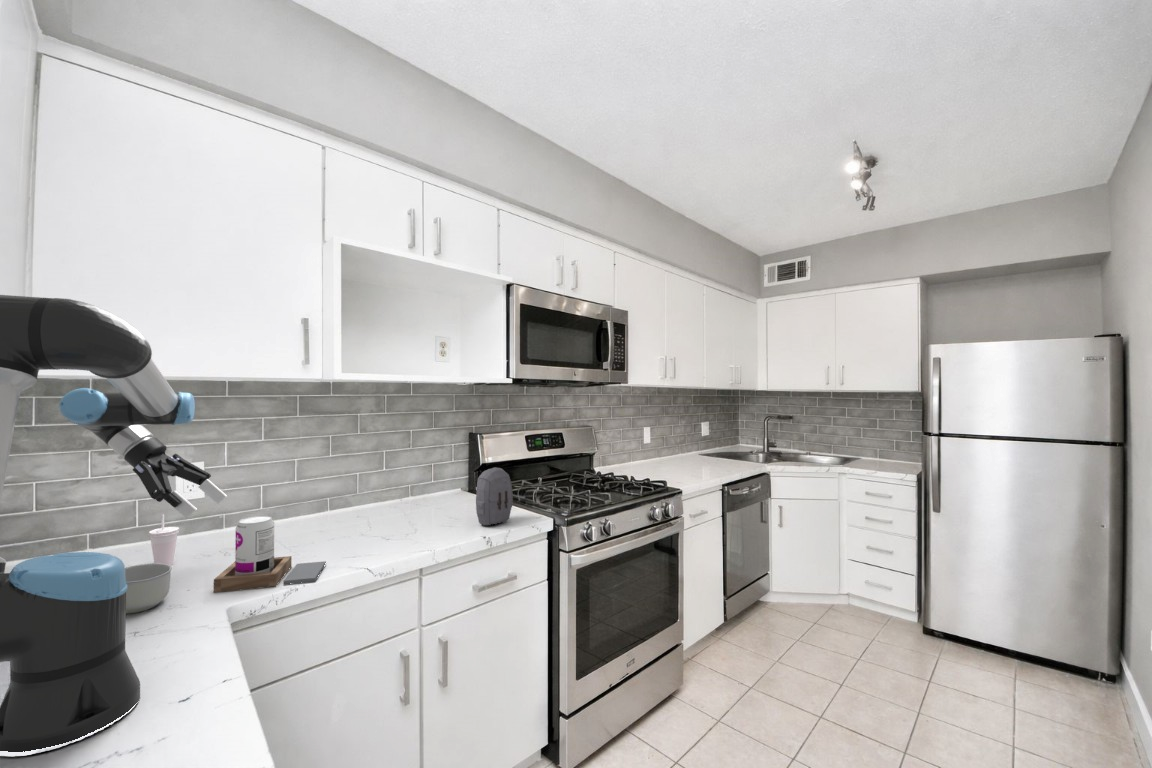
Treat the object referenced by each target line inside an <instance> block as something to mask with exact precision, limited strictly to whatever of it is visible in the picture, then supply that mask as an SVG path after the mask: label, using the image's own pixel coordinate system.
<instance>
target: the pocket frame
mask: <svg viewBox="0 0 1152 768" xmlns="http://www.w3.org/2000/svg"><path fill="white" fill-rule="evenodd" d="M290 567H291V568H292V556H291V555H289V556H280V557H279V556H278V557H277V556H276V557H275V556H274V570H273V571H272V572H270V573H258V574H247V575H236V576H235V561H234V562H233V563H231V564H230V565H229V566H228V567H226V568H225V569H224V570H223V571H222V572H221V573H219V575H217V576H216V577H215V578H213V593H221V592H233V591H241V590H240V589H244V590H251V589H250V588H254V589H259V588H258V587H264V588H268V587H267V586H275V587H277V586H278V584H279V583H280V582H281V581H282V580H281V578H282V577H283V576H284V574H285V573H286V572H287V571H288V570H289V568H290ZM289 571H290V570H289ZM289 571H288V572H289ZM288 572H287V573H288ZM287 573H286V574H287ZM284 577H285V576H284ZM284 577H283V578H284ZM283 578H282V579H283ZM280 580H281V581H280ZM279 581H280V582H279ZM278 582H279V583H278ZM277 583H278V584H277ZM276 585H277V586H276Z"/></svg>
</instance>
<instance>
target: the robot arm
mask: <svg viewBox="0 0 1152 768" xmlns="http://www.w3.org/2000/svg"><path fill="white" fill-rule="evenodd" d="M152 353H153V351H152V347H151V345H150V343H149V342H148V340H147V339H146V337H145V336H144V335H143V334H142V333H141V332H140V331H139V330H138V329H137V328H136V327H134V326H133V325H132V324H130V323H129V322H128V321H126V320H124V319H122V318H121V317H120V316H117V315H115V314H114V313H112V312H110V311H108V310H106V309H103V308H101V307H99V306H96V305H94V304H91V303H87V302H84V301H80V300H76V299H71V298H60V297H39V296H25V295H24V296H23V295H22V296H21V295H8V294H7V295H6V294H0V506H1V505H2V504H1V503H2V499H3V493H4V488H5V487H4V486H5V481H6V476H7V475H6V474H7V470H8V466H9V465H8V464H9V460H10V459H9V458H10V454H11V447H12V441H13V437H14V431H15V424H16V419H17V414H18V407H19V402H20V396H21V393H22V392H23V391H26V390H28V389H30V388H31V387H33V386H35V385H36V384H37V380H38V376H39V372H40V370H46V371H47V370H57V371H58V370H69V371H72V370H73V371H75V370H77V371H87V372H88V371H89V372H90V373H91V374H93V375H95V376H97V377H100V378H102V379H103V378H104V379H106V380H107V381H108V382H109V383H110V384H111V385H112V386H113V387H114V388H115V389H116V391H118V392H101V391H99V390H96V389H93V388H88V387H81V388H76V389H73V390H70V391H69V392H66V394H64V395H63V397H61V399H60V401H59V405H58V406H59V407H58V408H59V412H60V413H61V415H62V416H63V417H65V418H66V419H67V420H68V421H69V422H70V423H72V424H74V425H78V426H80V427H82V428H84V429H85V430H87V431H89V432H91V433H92V434H93V435H95V436H96V437H97V438H99V439H100V440H101V441H103V442H104V443H105V444H106V445H107V446H108V447H110V449H112V450H113V452H114V453H115V454H118V455H119V456H120V457H123V458H124V459H123V460H124V461H126V462H127V463H128V464H129V465H130V466H131V467H133V468H132V471H133V472H134V473H135V474H136V475H137V476H138V477H139V479H140V481H141V482H142V484H143V486H144V488H145V489H146V491H147V493H148V494H149V496H150V498H151V499H153V500H155V501H157V502H158V503H160V502H162V501H163V500H164V501H165V502H167V504H168V505H170V506H171V507H173V509H175V510H176V511H177V512H178V513H179V514H180V515H182V516H183V517H184V518H185V519H189V518H190V517H191V516H192V515H194V513H195V512H196V511H197V510H198V508H197V507H196V506H195V505H194V504H192V503H191V502H190V501H189V500H188V499H186V497H184V496H183V495H182V494H181V493H180V492H178V491H177V489H176V490H173V489H172V486H171V483H170V479H169V477H177V478H181V479H183V480H185V481H187V482H190V483H193V484H196V485H198V489H199V490H201V491H202V492H203V493H204V494H205V495H206V496H208V497H209V498H210V499H211V500H213V502H215V503H216V504H217V505H219V504H220V503H221V502H222V501H224V500H225V499H226V498H227V497H228V495H227V494H226V493H225V492H223V491H222V490H221V489H220V488H219V487H218V486H217V485H216V484H214V483H213V481H211V480H210V478H211V477H212V475H211V473H209V472H207V471H205V470H204V469H202V468H200V467H199V466H196V465H195V464H193V463H191V462H189V461H188V460H186V459H184V458H182V456H180V455H179V454H177V453H174V454H172V456H169V455H168V454H166V451H167V449H168V447H167V446H166V445H165V444H164V443H163V442H162V441H161V440H160V439H158V437H154V434H153V433H152V432H150V430H148V429H147V428H146V427H145V426H155V425H156V426H158V425H159V426H160V425H162V426H165V425H172V426H175V425H182V424H183V425H184V424H189V423H191V422H193V420H194V417H195V413H196V408H195V407H196V401H195V397H194V395H193V394H192V393H191V392H182V391H177V392H176V391H174V389H173V388H172V386H171V385H170V384H169V382H168V380H167V379H166V378H165V376H164V375H163V374H162V372H161V370H160V369H159V368H158V366H157V365H156V363H155V362H154V360H153V359H152V356H153V354H152ZM6 565H7V560H6V559H5V558H3V557H2V556H0V663H4V662H9V668H10V670H9V671H10V672H9V675H10V676H9V684H8V688H7V689H6V692H5V694H4V697H3V699H2V701H1V704H0V751H8V752H23V751H24V752H25V751H31V750H36V749H42V748H46V747H51V746H55V745H59V744H63V743H66V742H69V741H72V740H75V739H78V738H80V737H82V736H85V735H87V734H88V733H91V732H94V731H95V730H97V729H100V728H102V727H104V726H106V725H107V724H109V723H111V722H113V721H114V720H116V719H117V718H119V717H121V716H122V715H124V714H125V713H126V712H128V711H129V710H130V709H131V708H132V707H133V706H134V705H135V704H136V703H137V702H138V701H139V702H140V700H139V699H141V681H140V678H139V677H138V674H137V673H136V671H135V669H134V666H133V663H132V661H131V660H130V658H129V656H128V654H127V651H126V630H127V629H126V628H127V627H126V626H127V625H126V624H127V621H126V617H127V616H126V615H127V613H126V591H127V589H128V587H127V584H126V578H125V568H126V566H125V563H124V562H123V560H122V559H121V558H119V557H118V556H116V555H112V554H110V553H105V552H96V551H95V552H94V551H93V552H92V551H74V552H62V553H61V552H60V553H54V554H52V555H41V556H37V557H32V558H28V559H25V560H23V561H21V562H18V563H17V564H16V565H14V566H13V567H12V569H11V571H10V572H7V573H6V572H5V569H6ZM139 702H138V703H139Z"/></svg>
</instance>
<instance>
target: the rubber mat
mask: <svg viewBox="0 0 1152 768" xmlns="http://www.w3.org/2000/svg"><path fill="white" fill-rule="evenodd" d="M325 563H326V564H327V561H326V560H324V561H313V562H302V563H301V562H300V563H296V564H295V566H294V567H293V568H292V570H291V571H290V572H289V573H288V574H287V576H286V577H284V578H285V579H283V583H282V584H288V585H291V584H290V583H298V584H302V583H301V582H309V583H315V582H316V581H317V580H318V578H319V577H318V575H319V574H320V575H321V573H322V572H321V570H322V569H323V567H324V565H325ZM324 568H325V567H324ZM323 570H324V569H323ZM323 570H322V571H323ZM320 572H321V573H320ZM320 575H319V576H320ZM317 577H318V578H317ZM316 579H317V580H316Z"/></svg>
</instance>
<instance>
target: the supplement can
mask: <svg viewBox="0 0 1152 768" xmlns="http://www.w3.org/2000/svg"><path fill="white" fill-rule="evenodd" d="M234 553H235V555H234V556H235V558H234V562H235V576H236V575H247V574H258V573H270V572H272V571H273V570H274V558H275V522H274V520H273V519H272V516H269V515H258V516H257V515H256V516H251V517H250V516H249V517H246V518H241V519H240V520H238V523H237V524H236V527H235V552H234Z"/></svg>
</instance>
